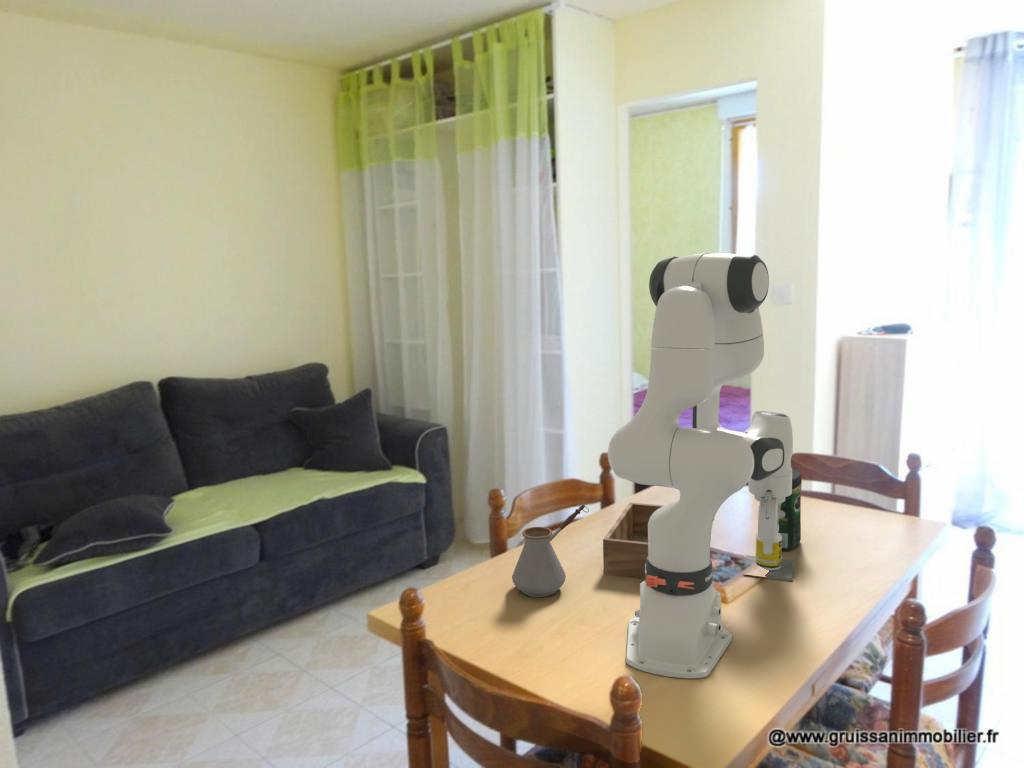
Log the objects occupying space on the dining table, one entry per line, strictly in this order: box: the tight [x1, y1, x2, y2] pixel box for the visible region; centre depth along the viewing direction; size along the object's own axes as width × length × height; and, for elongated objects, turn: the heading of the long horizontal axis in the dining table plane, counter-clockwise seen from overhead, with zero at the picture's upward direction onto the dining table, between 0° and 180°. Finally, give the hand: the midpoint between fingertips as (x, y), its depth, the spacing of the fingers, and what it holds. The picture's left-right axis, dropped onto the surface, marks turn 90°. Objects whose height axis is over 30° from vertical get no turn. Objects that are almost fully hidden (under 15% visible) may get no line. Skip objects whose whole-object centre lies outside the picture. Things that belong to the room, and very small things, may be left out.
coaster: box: [746, 555, 794, 582], centre depth 161 cm, size 10×10×1 cm
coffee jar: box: [778, 466, 802, 551], centre depth 174 cm, size 10×8×19 cm
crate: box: [602, 502, 665, 580], centre depth 171 cm, size 26×14×8 cm, turn 158°
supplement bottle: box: [755, 524, 783, 571], centre depth 161 cm, size 5×5×10 cm
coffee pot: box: [511, 504, 590, 598], centre depth 158 cm, size 21×12×15 cm, turn 133°
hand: (769, 545), depth 160 cm, fingers open, 8 cm apart
